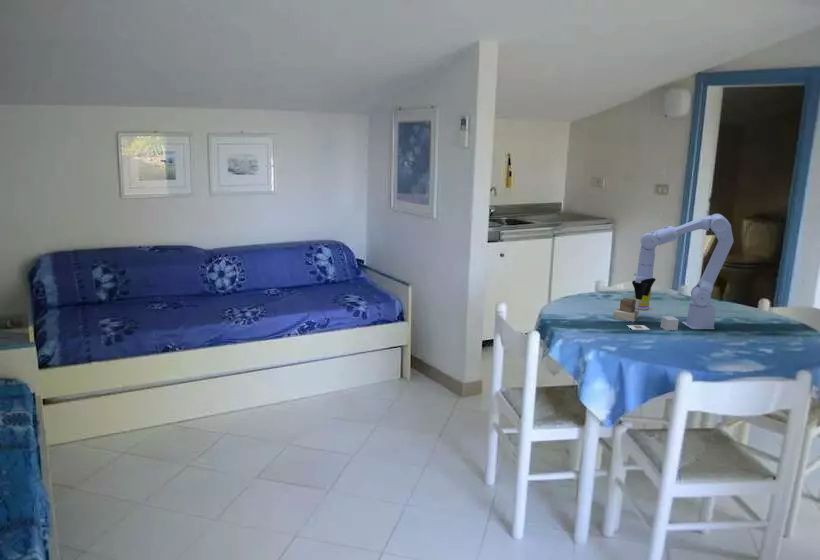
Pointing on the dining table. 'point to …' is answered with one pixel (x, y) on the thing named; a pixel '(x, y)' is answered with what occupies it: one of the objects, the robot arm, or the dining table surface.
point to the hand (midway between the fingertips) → (642, 297)
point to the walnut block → (627, 305)
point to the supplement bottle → (642, 302)
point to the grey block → (669, 323)
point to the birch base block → (625, 315)
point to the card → (638, 327)
